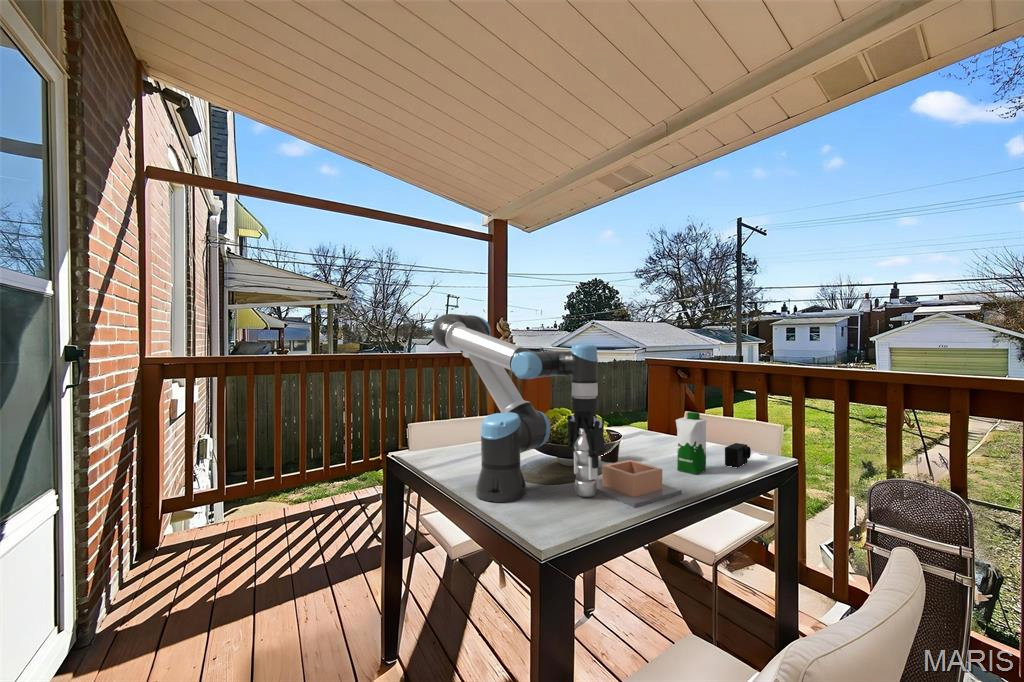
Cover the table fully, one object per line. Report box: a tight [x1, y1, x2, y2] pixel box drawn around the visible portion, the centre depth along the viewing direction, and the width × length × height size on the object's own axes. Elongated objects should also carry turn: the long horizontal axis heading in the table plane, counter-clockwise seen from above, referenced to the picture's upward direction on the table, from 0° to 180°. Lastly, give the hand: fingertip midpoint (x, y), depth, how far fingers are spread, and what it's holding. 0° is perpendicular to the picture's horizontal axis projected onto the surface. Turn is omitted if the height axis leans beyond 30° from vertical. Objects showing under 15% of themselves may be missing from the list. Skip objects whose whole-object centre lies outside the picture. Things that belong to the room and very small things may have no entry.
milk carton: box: [675, 411, 707, 475], centre depth 150 cm, size 9×9×20 cm
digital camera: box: [724, 442, 752, 469], centre depth 157 cm, size 10×5×7 cm, turn 133°
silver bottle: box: [574, 427, 597, 498], centre depth 126 cm, size 6×7×20 cm
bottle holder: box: [596, 459, 682, 508], centre depth 130 cm, size 20×20×7 cm
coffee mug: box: [599, 431, 621, 464], centre depth 165 cm, size 12×9×10 cm
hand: (585, 475), depth 126 cm, fingers closed on silver bottle, 6 cm apart
